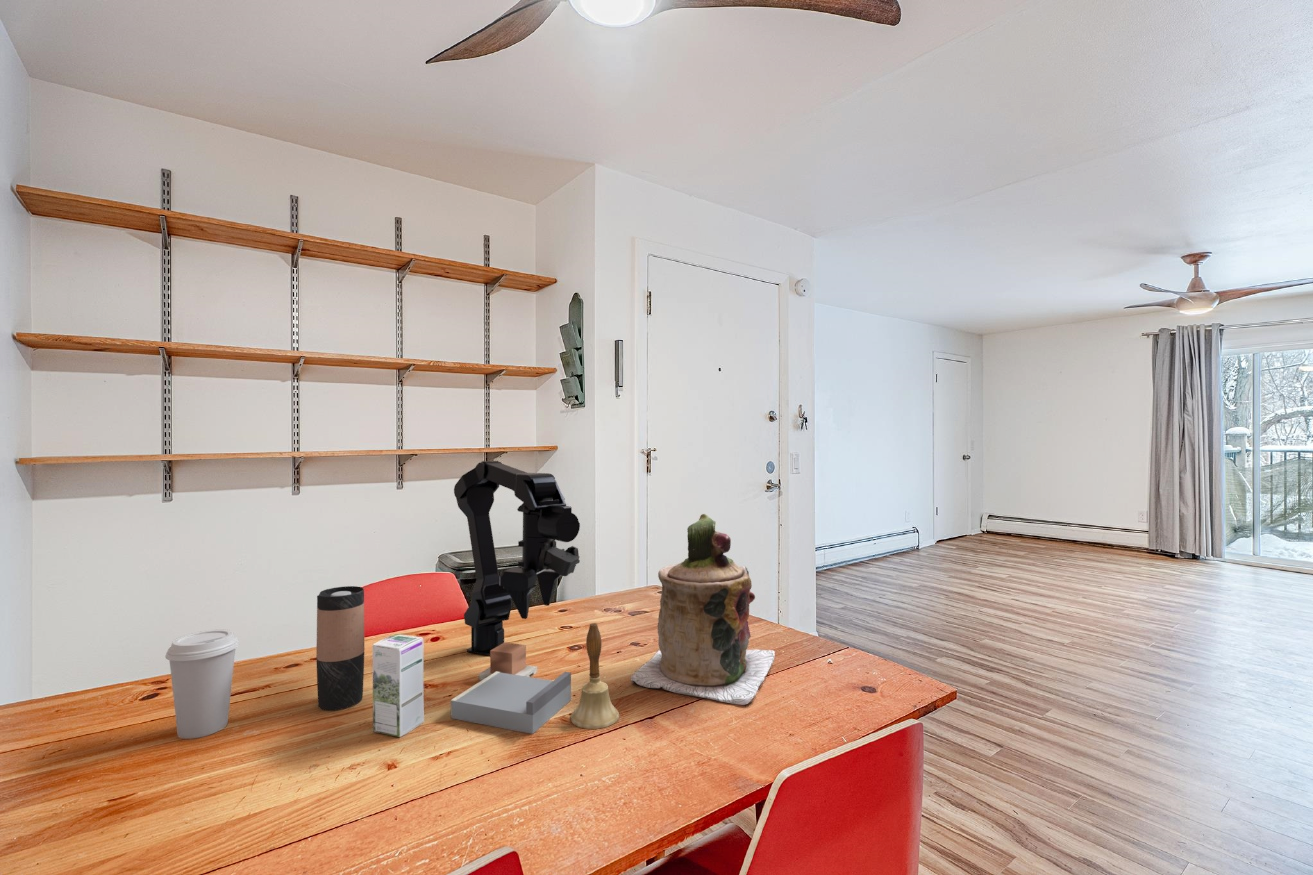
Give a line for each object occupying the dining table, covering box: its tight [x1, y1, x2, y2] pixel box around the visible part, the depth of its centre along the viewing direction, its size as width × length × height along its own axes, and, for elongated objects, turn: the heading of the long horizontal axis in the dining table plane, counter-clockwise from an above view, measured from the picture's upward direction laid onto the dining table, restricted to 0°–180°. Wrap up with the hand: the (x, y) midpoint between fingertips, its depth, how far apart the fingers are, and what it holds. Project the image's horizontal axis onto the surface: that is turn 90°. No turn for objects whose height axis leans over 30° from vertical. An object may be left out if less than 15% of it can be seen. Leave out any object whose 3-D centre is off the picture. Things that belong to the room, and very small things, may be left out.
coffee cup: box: [165, 629, 240, 740], centre depth 95 cm, size 10×10×15 cm
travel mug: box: [315, 585, 365, 712], centre depth 105 cm, size 8×8×20 cm
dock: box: [450, 671, 572, 735], centre depth 102 cm, size 16×13×5 cm
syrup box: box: [372, 633, 425, 738], centre depth 96 cm, size 6×6×14 cm
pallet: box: [478, 641, 538, 681], centre depth 116 cm, size 9×7×6 cm
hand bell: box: [570, 622, 620, 730], centre depth 99 cm, size 8×8×16 cm
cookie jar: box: [630, 513, 776, 706], centre depth 118 cm, size 25×25×32 cm
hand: (536, 611), depth 118 cm, fingers open, 9 cm apart
